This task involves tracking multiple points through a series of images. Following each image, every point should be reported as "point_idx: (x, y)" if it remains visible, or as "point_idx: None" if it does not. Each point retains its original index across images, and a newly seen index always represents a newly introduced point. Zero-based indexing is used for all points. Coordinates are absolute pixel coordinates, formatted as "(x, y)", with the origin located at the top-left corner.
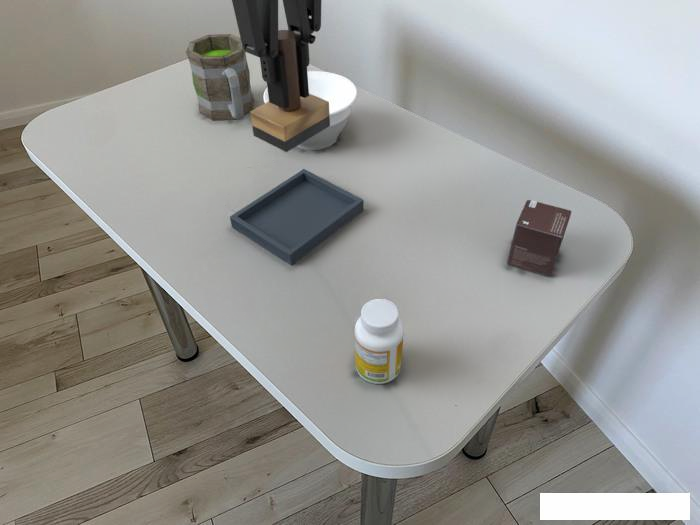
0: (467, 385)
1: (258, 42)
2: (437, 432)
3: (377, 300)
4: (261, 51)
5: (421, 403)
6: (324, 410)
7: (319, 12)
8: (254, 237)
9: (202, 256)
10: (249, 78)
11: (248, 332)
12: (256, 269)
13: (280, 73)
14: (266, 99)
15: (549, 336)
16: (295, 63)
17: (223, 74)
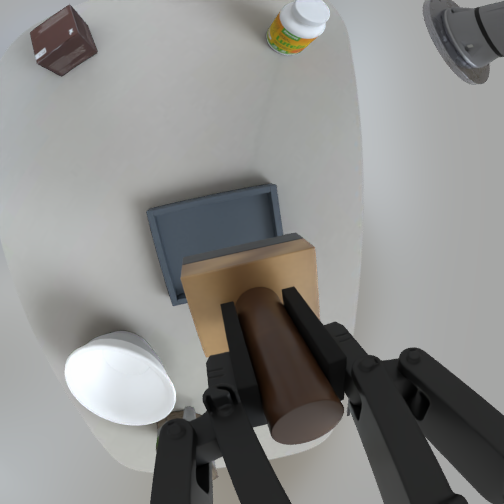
0: None
1: (437, 371)
2: None
3: (306, 15)
4: (420, 355)
5: (281, 3)
6: (341, 47)
7: (162, 467)
8: None
9: (327, 252)
10: (157, 440)
11: (347, 142)
12: (301, 203)
13: (326, 331)
14: (170, 406)
15: None
16: (275, 350)
17: None
